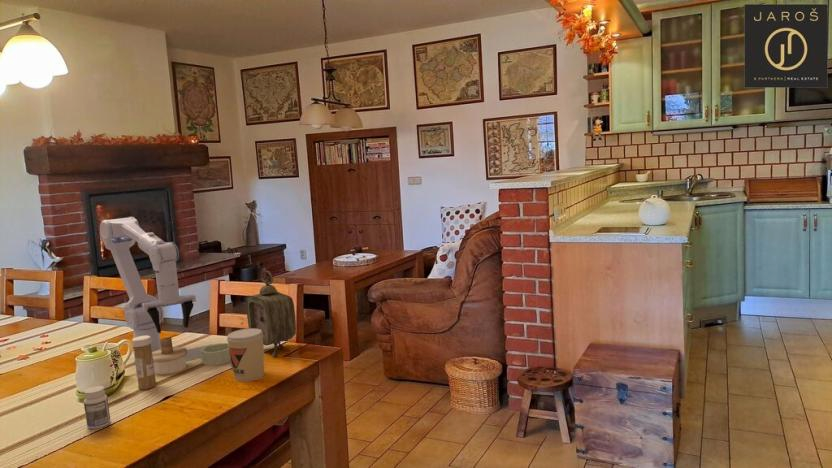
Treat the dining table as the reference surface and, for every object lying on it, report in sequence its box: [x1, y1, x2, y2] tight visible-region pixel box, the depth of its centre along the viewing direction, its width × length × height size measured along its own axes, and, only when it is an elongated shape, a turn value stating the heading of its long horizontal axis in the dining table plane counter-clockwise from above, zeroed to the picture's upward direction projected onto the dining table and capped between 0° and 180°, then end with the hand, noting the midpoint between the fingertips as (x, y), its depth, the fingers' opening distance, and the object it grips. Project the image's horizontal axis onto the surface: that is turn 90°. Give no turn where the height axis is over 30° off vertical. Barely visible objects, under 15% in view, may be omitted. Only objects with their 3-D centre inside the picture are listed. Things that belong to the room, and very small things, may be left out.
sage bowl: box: [201, 342, 231, 366], centre depth 176 cm, size 9×9×4 cm
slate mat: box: [185, 343, 212, 362], centre depth 185 cm, size 12×11×1 cm
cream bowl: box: [154, 356, 187, 375], centre depth 171 cm, size 9×9×4 cm
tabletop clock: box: [245, 269, 297, 358], centre depth 181 cm, size 14×9×25 cm, turn 41°
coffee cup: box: [226, 328, 265, 383], centre depth 160 cm, size 9×9×12 cm
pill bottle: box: [83, 385, 111, 430], centre depth 135 cm, size 5×5×8 cm
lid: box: [152, 337, 188, 362], centre depth 170 cm, size 10×10×5 cm
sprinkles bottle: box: [131, 336, 157, 390], centre depth 158 cm, size 5×5×13 cm
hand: (172, 329), depth 177 cm, fingers open, 7 cm apart
